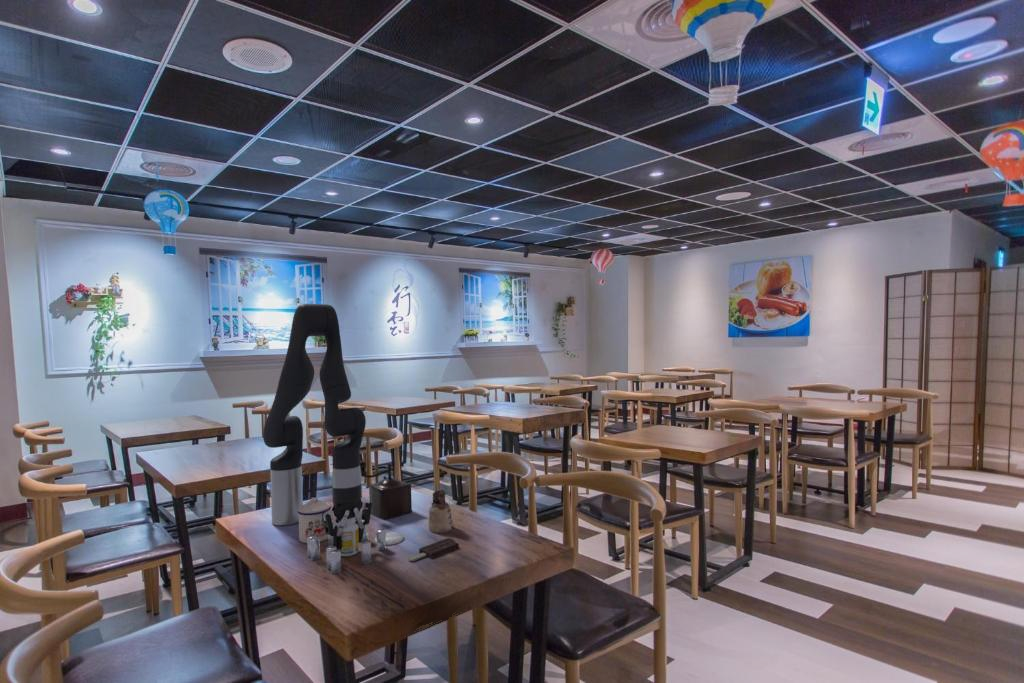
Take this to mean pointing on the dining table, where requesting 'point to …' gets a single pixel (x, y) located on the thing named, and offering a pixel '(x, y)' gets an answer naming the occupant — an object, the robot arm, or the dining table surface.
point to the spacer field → (335, 555)
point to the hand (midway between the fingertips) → (348, 545)
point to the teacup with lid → (313, 519)
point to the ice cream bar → (436, 549)
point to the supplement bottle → (350, 537)
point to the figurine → (440, 513)
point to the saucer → (392, 538)
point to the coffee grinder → (388, 495)
